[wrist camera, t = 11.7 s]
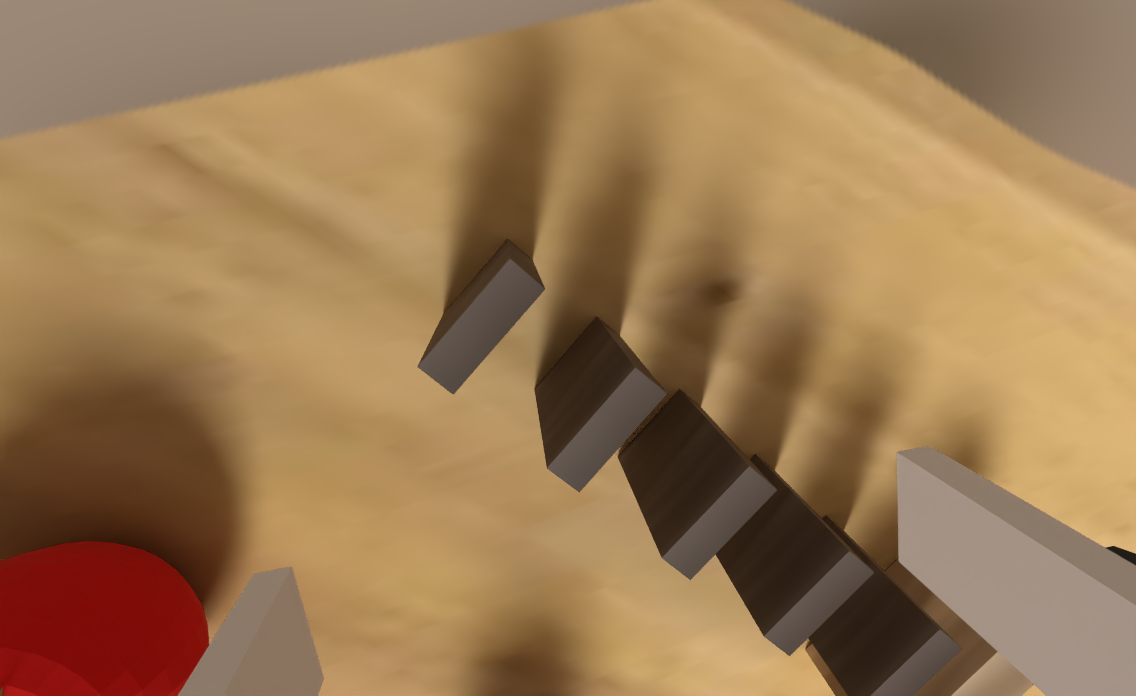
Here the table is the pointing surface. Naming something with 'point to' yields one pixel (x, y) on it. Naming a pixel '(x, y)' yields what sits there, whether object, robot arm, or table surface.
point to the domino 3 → (691, 484)
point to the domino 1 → (481, 316)
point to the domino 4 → (790, 566)
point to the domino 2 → (592, 403)
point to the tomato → (97, 623)
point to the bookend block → (972, 677)
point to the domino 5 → (881, 637)
